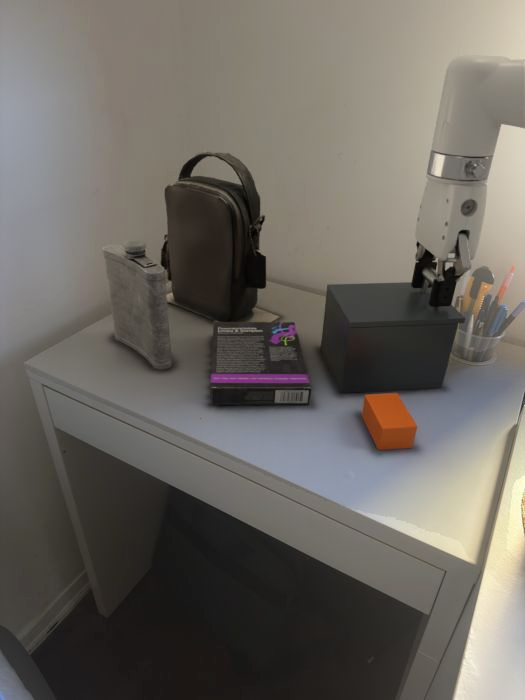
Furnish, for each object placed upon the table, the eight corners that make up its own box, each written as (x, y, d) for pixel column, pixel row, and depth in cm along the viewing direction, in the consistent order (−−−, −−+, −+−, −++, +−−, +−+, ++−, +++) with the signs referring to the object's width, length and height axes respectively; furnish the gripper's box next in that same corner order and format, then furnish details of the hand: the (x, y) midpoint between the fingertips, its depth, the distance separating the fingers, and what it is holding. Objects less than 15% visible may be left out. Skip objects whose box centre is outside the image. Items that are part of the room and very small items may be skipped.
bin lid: (426, 286, 79) (433, 256, 77) (464, 323, 69) (473, 290, 66) (326, 289, 77) (329, 258, 75) (349, 327, 67) (353, 293, 64)
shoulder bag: (279, 316, 93) (287, 157, 78) (249, 335, 86) (252, 166, 72) (191, 285, 104) (183, 141, 89) (158, 299, 98) (145, 146, 83)
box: (309, 408, 70) (294, 336, 86) (312, 387, 68) (296, 319, 84) (209, 407, 69) (213, 335, 85) (209, 387, 67) (213, 317, 83)
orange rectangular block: (361, 415, 68) (364, 394, 66) (392, 413, 69) (397, 392, 67) (378, 450, 62) (382, 428, 60) (412, 447, 63) (417, 426, 61)
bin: (409, 345, 85) (422, 286, 79) (442, 387, 74) (458, 323, 69) (320, 349, 83) (326, 289, 77) (340, 393, 72) (349, 328, 67)
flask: (131, 330, 87) (118, 228, 77) (179, 363, 78) (172, 253, 69) (112, 336, 84) (97, 233, 75) (159, 371, 76) (149, 259, 66)
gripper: (524, 182, 57) (483, 322, 66) (455, 155, 72) (430, 273, 81) (462, 182, 56) (430, 324, 65) (405, 155, 71) (385, 274, 80)
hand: (430, 295), depth 73 cm, fingers closed on bin lid, 5 cm apart
